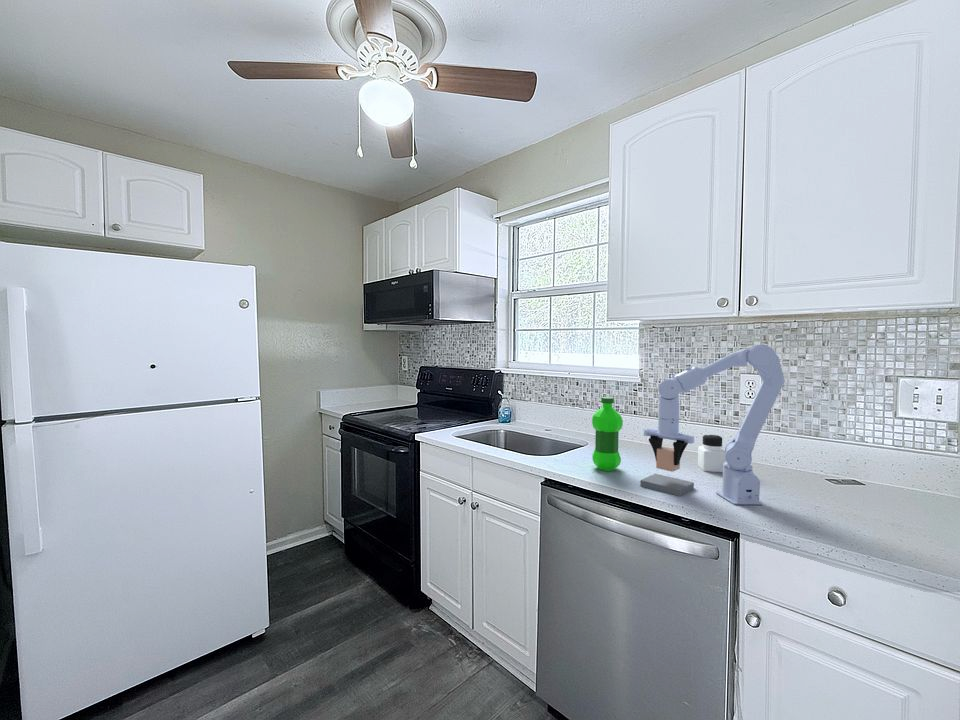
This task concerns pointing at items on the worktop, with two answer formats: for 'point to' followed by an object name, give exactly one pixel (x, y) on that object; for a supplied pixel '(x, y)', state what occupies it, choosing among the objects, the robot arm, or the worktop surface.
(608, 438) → the plastic bottle
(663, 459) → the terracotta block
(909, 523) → the worktop surface
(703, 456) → the medicine bottle
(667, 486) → the charcoal base
